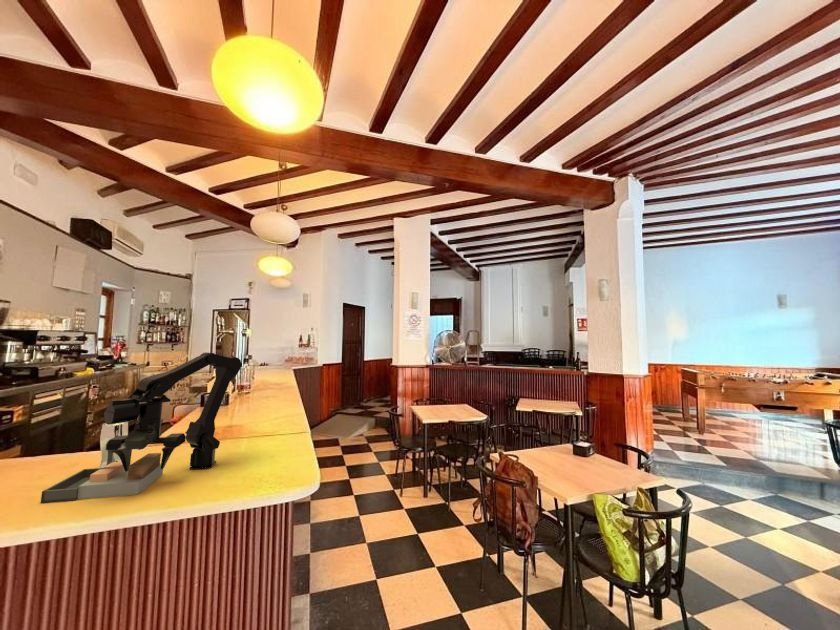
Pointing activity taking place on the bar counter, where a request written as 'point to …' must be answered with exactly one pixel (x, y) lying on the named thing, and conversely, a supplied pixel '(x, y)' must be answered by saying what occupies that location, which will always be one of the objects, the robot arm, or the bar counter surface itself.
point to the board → (117, 485)
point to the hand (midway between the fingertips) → (144, 469)
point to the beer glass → (106, 435)
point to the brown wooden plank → (144, 466)
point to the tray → (67, 487)
